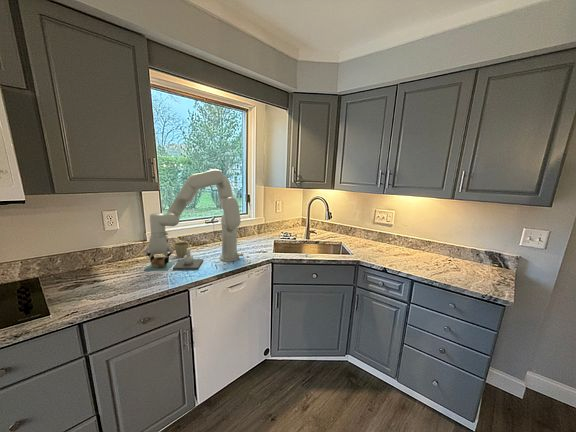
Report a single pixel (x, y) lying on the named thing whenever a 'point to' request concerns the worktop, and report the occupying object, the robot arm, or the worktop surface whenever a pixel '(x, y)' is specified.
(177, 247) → the flower pot
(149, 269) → the mat
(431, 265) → the worktop surface
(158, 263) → the walnut link
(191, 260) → the stand
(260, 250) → the worktop surface
